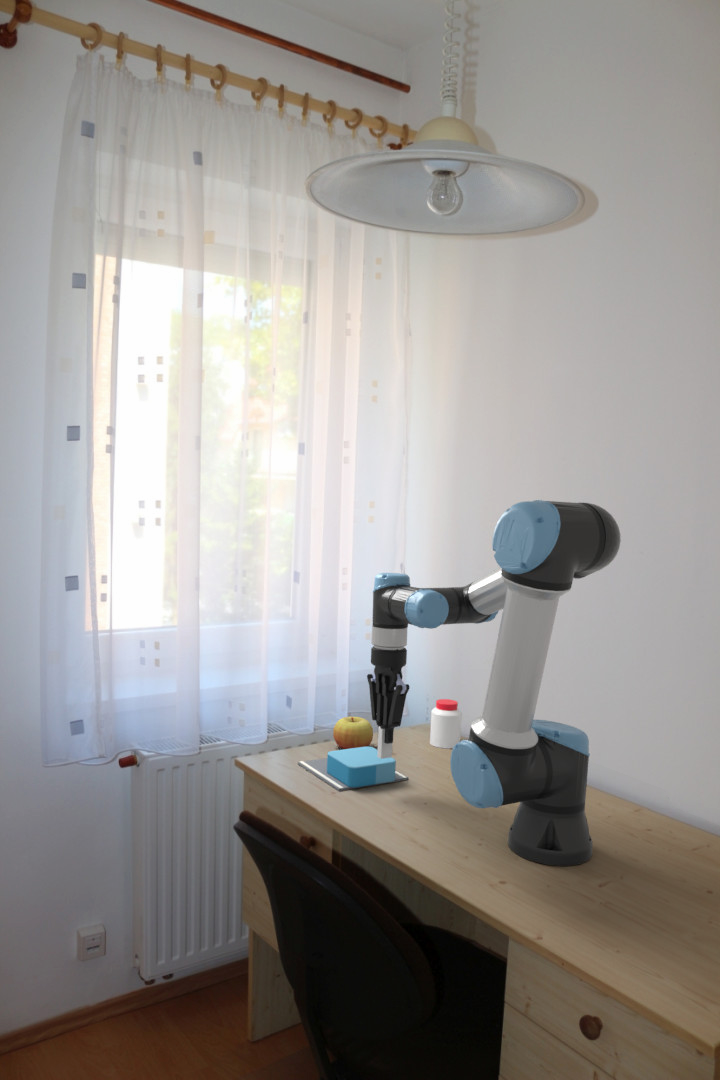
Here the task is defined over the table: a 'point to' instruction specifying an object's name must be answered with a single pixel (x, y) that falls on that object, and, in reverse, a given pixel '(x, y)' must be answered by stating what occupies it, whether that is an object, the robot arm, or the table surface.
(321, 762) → the mat
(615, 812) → the table surface
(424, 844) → the table surface
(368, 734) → the apple
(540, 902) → the table surface
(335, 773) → the light blue flat block
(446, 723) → the pill bottle
